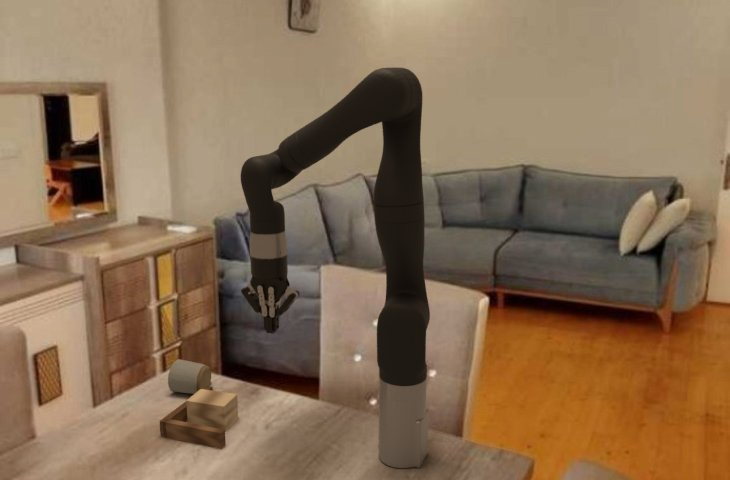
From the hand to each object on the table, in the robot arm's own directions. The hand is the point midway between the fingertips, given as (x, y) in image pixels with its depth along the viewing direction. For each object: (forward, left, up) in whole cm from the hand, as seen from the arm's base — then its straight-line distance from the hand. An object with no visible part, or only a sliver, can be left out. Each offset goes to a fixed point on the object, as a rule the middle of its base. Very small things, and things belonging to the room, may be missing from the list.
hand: (271, 332), depth 146 cm
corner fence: (+12, +4, -21) cm, 25 cm away
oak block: (+13, +4, -21) cm, 25 cm away
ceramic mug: (+26, -8, -22) cm, 35 cm away
